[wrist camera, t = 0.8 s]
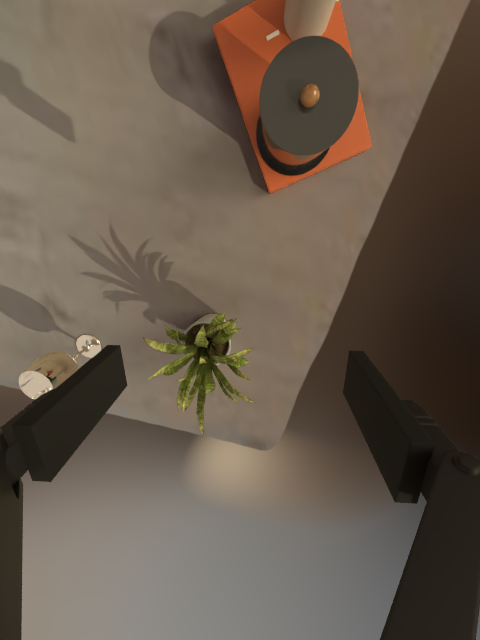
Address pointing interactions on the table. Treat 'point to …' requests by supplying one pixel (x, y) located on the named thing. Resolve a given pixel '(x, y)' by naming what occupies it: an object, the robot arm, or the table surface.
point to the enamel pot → (306, 100)
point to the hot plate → (250, 67)
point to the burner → (277, 168)
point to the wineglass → (55, 367)
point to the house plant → (203, 359)
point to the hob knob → (307, 17)
